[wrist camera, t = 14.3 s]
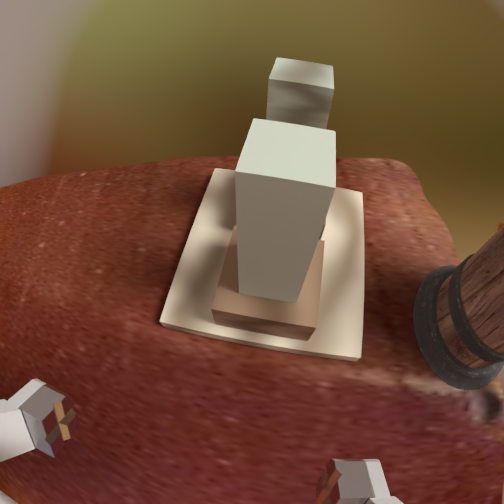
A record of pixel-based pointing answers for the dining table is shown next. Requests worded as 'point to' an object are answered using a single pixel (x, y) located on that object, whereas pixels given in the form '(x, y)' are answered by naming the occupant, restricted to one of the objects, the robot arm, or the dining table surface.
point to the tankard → (464, 317)
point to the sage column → (281, 205)
